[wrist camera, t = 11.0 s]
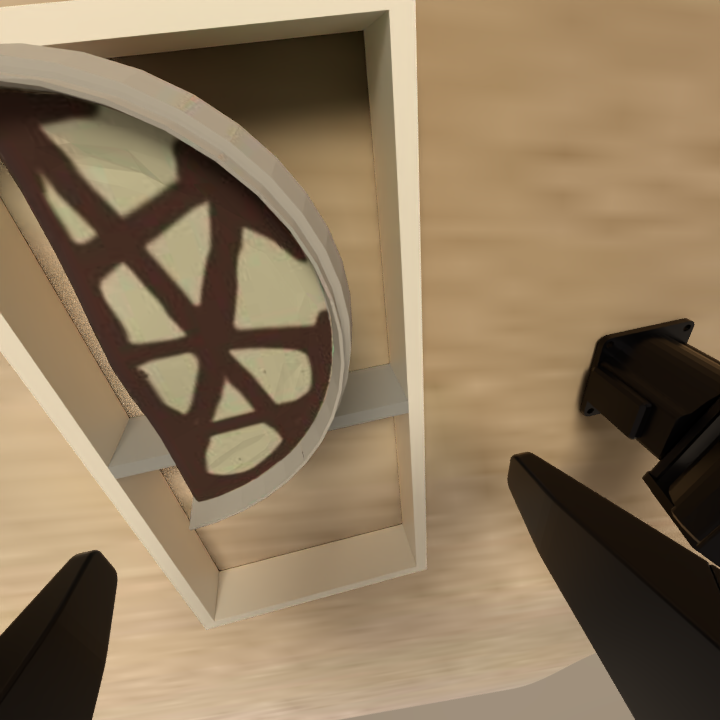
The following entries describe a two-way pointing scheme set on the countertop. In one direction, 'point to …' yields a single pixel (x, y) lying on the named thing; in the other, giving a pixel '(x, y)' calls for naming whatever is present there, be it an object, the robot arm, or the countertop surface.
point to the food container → (185, 266)
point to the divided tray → (364, 387)
